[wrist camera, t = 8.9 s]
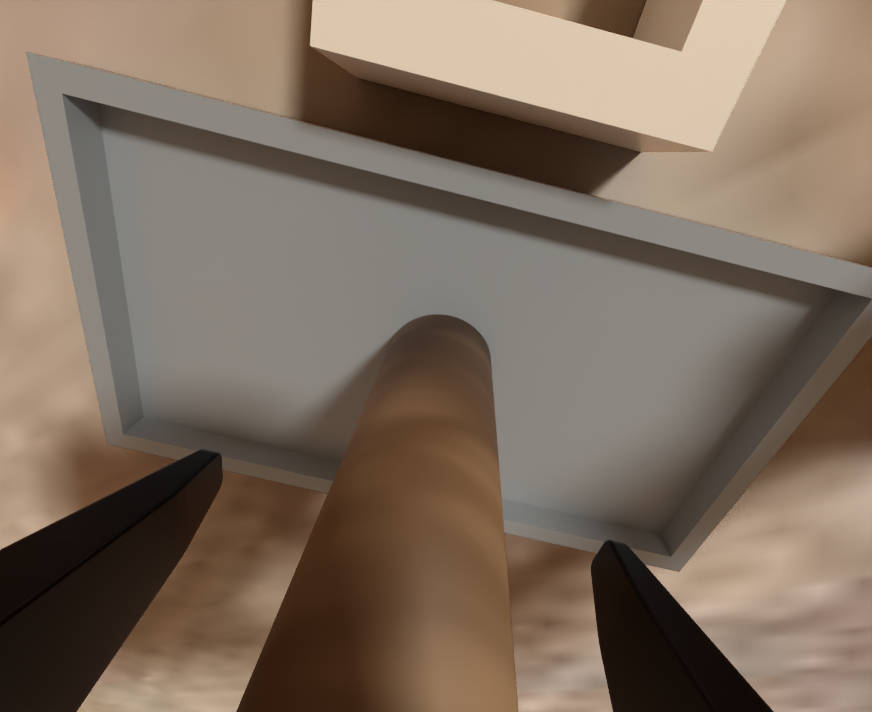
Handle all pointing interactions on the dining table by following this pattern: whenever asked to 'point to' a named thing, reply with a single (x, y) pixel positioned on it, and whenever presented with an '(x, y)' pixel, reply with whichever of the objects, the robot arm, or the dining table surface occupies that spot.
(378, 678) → the pin
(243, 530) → the dining table surface
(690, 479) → the tray
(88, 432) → the dining table surface
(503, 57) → the square frame
